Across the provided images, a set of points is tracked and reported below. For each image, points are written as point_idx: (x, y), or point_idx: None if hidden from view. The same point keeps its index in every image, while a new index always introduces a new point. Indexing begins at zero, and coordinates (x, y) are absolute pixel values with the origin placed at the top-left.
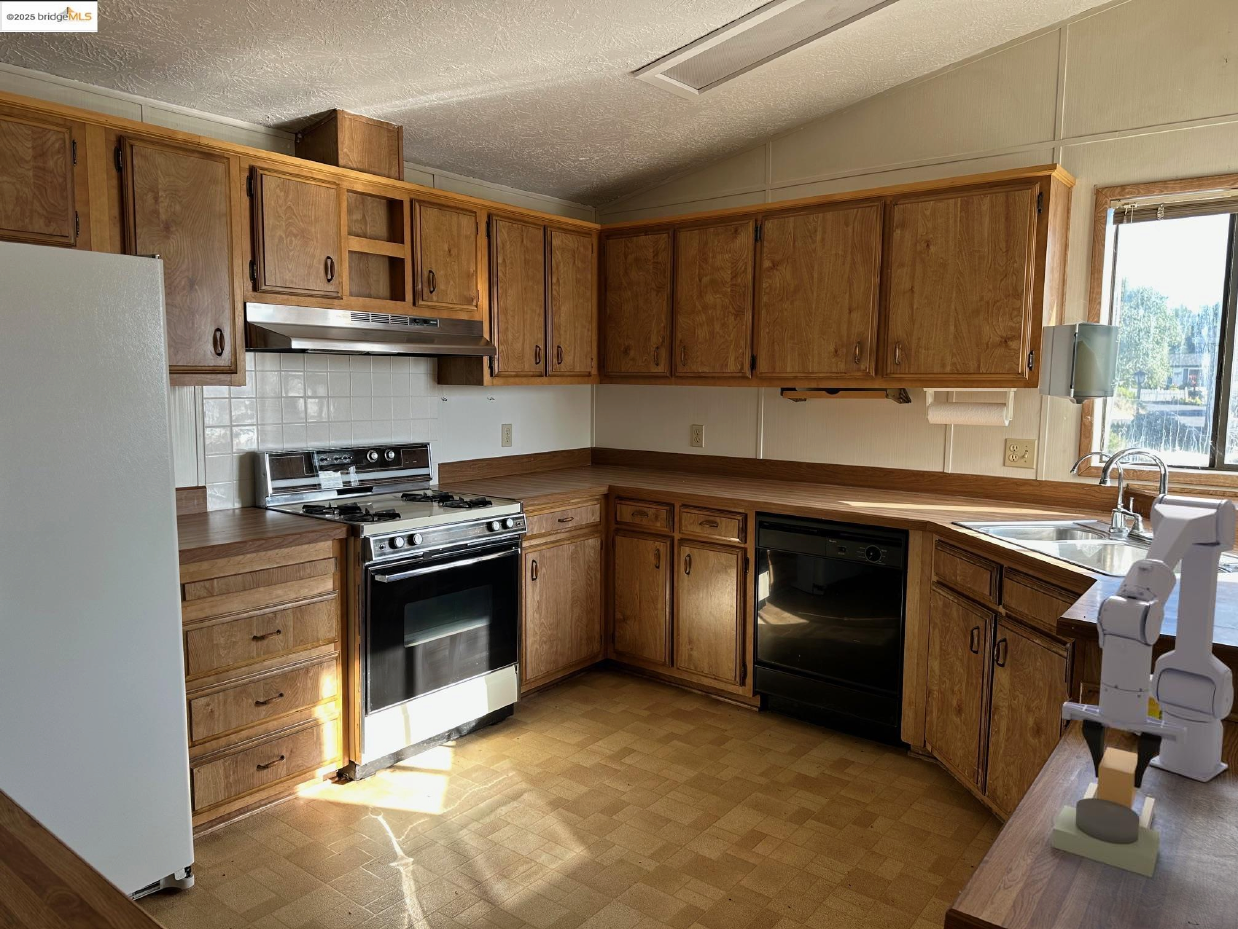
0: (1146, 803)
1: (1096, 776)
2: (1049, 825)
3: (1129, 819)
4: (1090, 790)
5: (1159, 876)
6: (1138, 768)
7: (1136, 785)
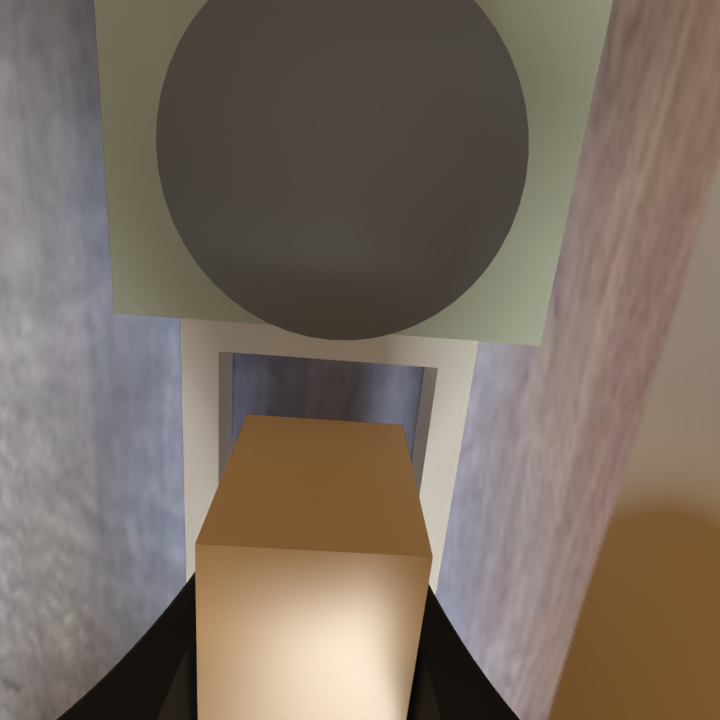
0: None
1: None
2: (568, 260)
3: (210, 113)
4: None
5: None
6: (174, 652)
7: None
